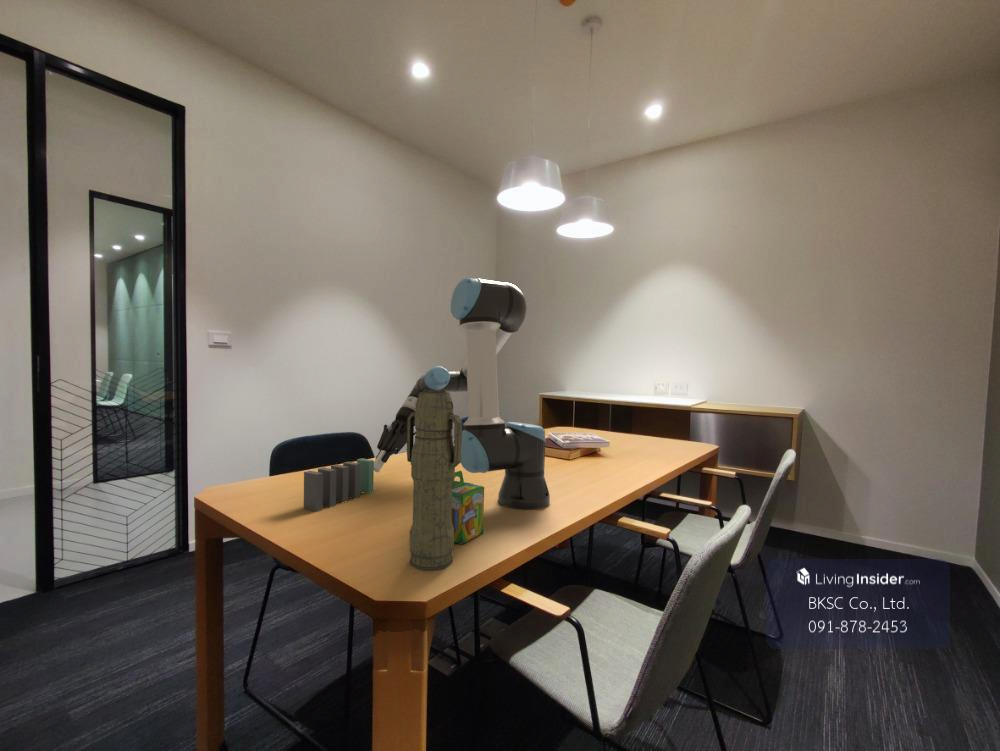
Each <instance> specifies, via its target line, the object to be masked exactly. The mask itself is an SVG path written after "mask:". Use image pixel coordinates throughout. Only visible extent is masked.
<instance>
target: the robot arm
mask: <svg viewBox="0 0 1000 751" xmlns="http://www.w3.org/2000/svg"><path fill="white" fill-rule="evenodd" d="M450 300H451V301H450V312H451V314H452V317H453V318H455V319H456V320H458V321H459V329H460V330H462V331H463V332H464V333H465V334H464V335H465V336H464V337H465V359H466V361H465V363H464V365H463V366H462V368H461V369H460V370H448V369H447V368H445V367H443V366H441V365H437V366H433V367H431V368H430V369H429V370H428V371H426V372H425V374H422V375H421V376H420V377H419V379H417V381H416V382H415V385H414V386H413V388H412V390H410V392H409V395H407V397H406V399H405V400H404V402H403V404H402V405H401V407H399V409H398V411H397V413H396V414H395V419H394V420H393V421H392V422H391V424H389V425H387V424H384V425H383V430H382V433H381V436H380V438H379V441H378V442H377V446H376V448H377V449H378V453H377V455H376V457H375V460H374V472H376V473H380V471H381V469H382V468H383V466H384V464H386V463H387V462H388V460H389V458H390V457H391V456H392V455H398V453H399V452H400V451H401V450H402V449H403V448H404V446H406V445H407V418H408V417H409V415H410V414H411V413H412V412H415V408H416V402H417V399H418V396H419V393H420V392H423V390H446V392H449V393H461V392H463V393H464V392H465V393H467V408H468V409H467V410H468V411H467V412H468V413H467V414H468V418H467V419H466V420H465V421H464V422H463V423H462V428H463V429H462V442H461V463H460V464H461V466H462V468H463V469H464V470H465V471H467V472H468V473H470V474H478V473H479V474H486V473H488V472H495V471H496V472H497V471H504V476H503V479H502V482H501V485H500V488H499V491H498V496H497V497H498V499H497V500H498V503H499V504H500V505H501V506H504V507H508V508H511V509H518V510H538V509H542V508H545V507H547V506H549V504H550V503H551V502H550V499H551V497H550V496H551V494H550V491H549V488H548V485H547V481H546V478H545V465H546V464H545V462H546V461H545V460H546V459H545V458H546V456H545V455H546V443H547V441H546V440H547V439H546V431H545V429H544V427H543V426H540V425H536V424H530V423H526V422H525V423H523V422H516V421H515V422H514V421H507V422H505V420H503V419H502V417H500V406H499V404H500V403H499V386H498V385H499V378H498V358H497V356H498V354H499V353H500V351H501V350H502V348H503V347H504V345H505V344H506V342H507V341H508V340H509V338H510V336H511V335H512V334H515V333H517V332H518V331H519V330H520V328H521V326H522V325H523V323H524V321H525V319H526V316H527V307H528V306H527V300H526V298H525V295H524V294H523V292H522V291H521V289H520V288H518V286H516V285H515V284H512V283H509V282H504V281H503V282H502V281H496V280H489V279H484V278H483V279H482V278H479V277H476V278H472V277H465V278H463V279H461V280H459V282H458V283H457V284H456V286H455V288H454V290H453V292H452V295H451V299H450ZM414 427H415V418H414ZM414 436H416V429H414Z"/></svg>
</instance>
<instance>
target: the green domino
mask: <svg viewBox="0 0 1000 751" xmlns="http://www.w3.org/2000/svg"><path fill="white" fill-rule="evenodd" d="M374 462H375V460H373V459H368V458H363V457H362V458H358V459H356V463H359V464H360V493H361V492H364V493H363V494H365V493H368V494H367V495H370V494H369V493H371V494H373V493H374V480H375V476H374V475H375V473H374V472H375V471H374ZM372 492H373V493H372Z"/></svg>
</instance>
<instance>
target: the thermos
mask: <svg viewBox="0 0 1000 751" xmlns="http://www.w3.org/2000/svg"><path fill="white" fill-rule="evenodd" d="M450 393H451V392H446V390H423V392H420V393H419V396H418V399H417V402H416V408H415V412H412V413H411V414H410V415H409V417H408V418H407V443H406V458H407V459H406V460H407V462H408V463H410V465H411V466H410V468H411V472H410V475H411V478H412V481H413V485H412V486H413V487H412V489H413V490H412V491H413V492H412V524H411V526H410V529H409V552H410V558H409V563H410V566H411V567H412V568H414V569H417V570H419V571H428V572H433V571H440V570H443V569H447V567H450V566H451V564H453V560H454V558H453V557H454V556H453V551H454V548H455V547H454V546H455V544H454V543H455V542H454V527H453V524H452V481H453V478H454V476H455V472H456V467H457V466H459V465H460V464H461V442H462V431H463V421H462V419H461V417H460V415H458V414H455V413H454V404H453V399H452V396H451V394H450ZM414 418H415V426H414ZM414 428H415V429H414ZM453 428H454V432H453V433H454V434H453V433H452V430H453ZM414 430H415V432H416V434H415V435H414ZM453 437H454V438H453ZM453 440H454V441H453Z"/></svg>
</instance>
